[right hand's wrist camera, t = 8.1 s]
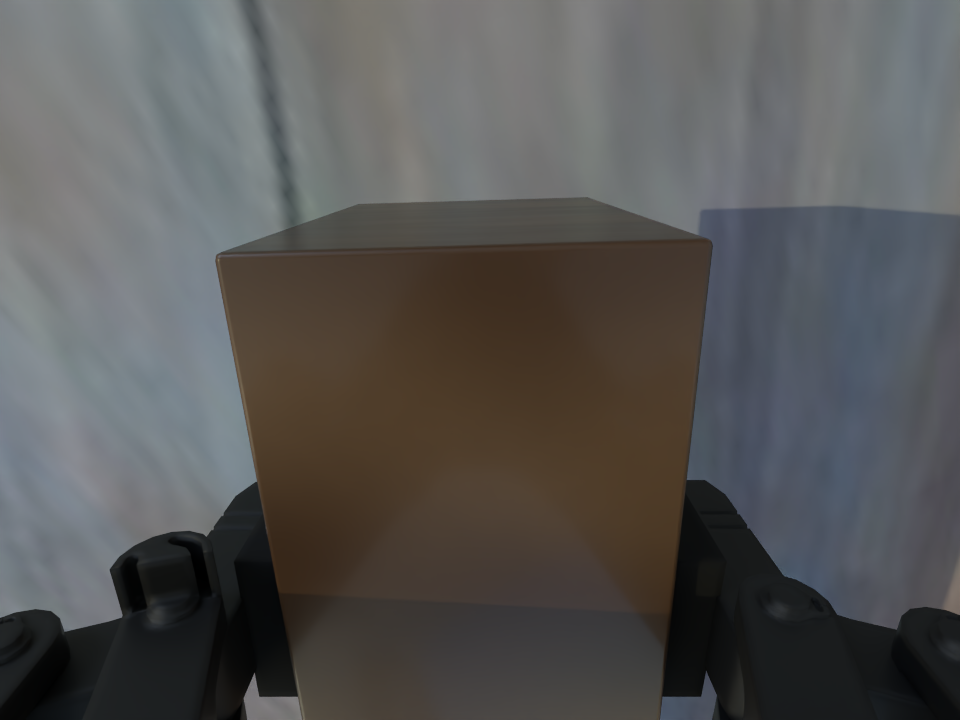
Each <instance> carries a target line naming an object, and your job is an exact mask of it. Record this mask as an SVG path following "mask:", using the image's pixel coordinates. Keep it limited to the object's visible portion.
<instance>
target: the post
mask: <svg viewBox="0 0 960 720" xmlns="http://www.w3.org/2000/svg"><path fill="white" fill-rule="evenodd" d="M712 247H713V245H712V242H711V240H709V239H706V238H704V237H701V236H698V235H695V234H692V233H689V232H686V231H683V230H680V229H678V228H675V227H672V226H669V225H666V224H663V223H660V222H657V221H654V220H651V219H648V218H645V217H643V216H640V215H637V214H634V213H631V212H628V211H625V210H622V209H619V208H616V207H613V206H611V205H608V204H605V203H602V202H599V201H596V200H593V199H590V198H587V197H583V198H549V199H516V200H482V201H448V202H415V203H381V204H358V205H355V206H352V207H349V208H346V209H344V210H341V211H338V212H335V213H332V214H329V215H326V216H324V217H321V218H318V219H315V220H312V221H309V222H306V223H304V224H301V225H298V226H295V227H292V228H289V229H286V230H284V231H281V232H278V233H275V234H272V235H269V236H266V237H264V238H261V239H258V240H255V241H252V242H249V243H246V244H244V245H241V246H238V247H235V248H232V249H229V250H226V251H224V252H221V253H219V254H217V255H216V266H217V271H218V277H219V282H220V287H221V293H222V298H223V303H224V308H225V314H226V319H227V324H228V330H229V335H230V340H231V345H232V351H233V356H234V361H235V367H236V372H237V377H238V382H239V388H240V393H241V398H242V403H243V409H244V414H245V419H246V425H247V430H248V435H249V440H250V446H251V451H252V456H253V462H254V467H255V472H256V477H257V483H258V488H259V493H260V499H261V504H262V509H263V514H264V520H265V525H266V530H267V535H268V541H269V546H270V551H271V557H272V562H273V567H274V572H275V578H276V583H277V588H278V594H279V599H280V604H281V609H282V615H283V620H284V625H285V631H286V636H287V641H288V646H289V652H290V657H291V662H292V667H293V673H294V678H295V683H296V689H297V694H298V699H299V704H300V710H301V715H302V720H660V713H661V704H662V695H663V686H664V678H665V669H666V660H667V651H668V642H669V633H670V624H671V615H672V606H673V597H674V588H675V579H676V570H677V561H678V552H679V543H680V534H681V525H682V516H683V507H684V498H685V489H686V480H687V471H688V462H689V453H690V444H691V435H692V426H693V417H694V408H695V399H696V390H697V381H698V372H699V363H700V354H701V345H702V336H703V327H704V319H705V310H706V301H707V292H708V283H709V274H710V265H711V256H712Z"/></svg>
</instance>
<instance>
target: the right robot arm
mask: <svg viewBox="0 0 960 720" xmlns="http://www.w3.org/2000/svg"><path fill="white" fill-rule="evenodd" d="M110 572H111V576H112V579H113V583H114V586H115V590H116V593H117V597H118V600H119V604H120V607H121V610H122V614H123V616H122V618H119V619H116V620H113V621H109V622H105V623H101V624H97V625H92V626H88V627H84V628H80V629H75V630H71V631H67V632H64V629H63V626H62V624H61V621H60V618H59V617H57V616H56V615H55V614H54V613H53V612H51V611H45V610H37V609H34V610H28V611H22V612H16V613H13V614H10V615H7V616H5V617H2V618H0V720H247V716H246V709H245V704H244V699H243V698H244V696H245V693H246V691H247V689H248V686H249V684H250V682H251V679H252V677H253V675H254V673H255V676H256V681H257V687H258V692H259V697H298V694H297V689H296V683H295V678H294V673H293V667H292V662H291V657H290V652H289V646H288V641H287V636H286V631H285V625H284V620H283V615H282V609H281V604H280V599H279V594H278V588H277V583H276V578H275V572H274V567H273V562H272V557H271V551H270V546H269V541H268V535H267V530H266V525H265V520H264V514H263V509H262V504H261V499H260V493H259V488H258V483H257V482H255V483H254V484H252V485H251V486H249V487H248V488H247V489H245V490H244V491H242V492H241V493H240V494H238V495H237V496H236V497H235V498H234V499H233V501H232V502H231V504H230V505H229V506H228V508H227V509H226V511H225V512H224V516H221V518H220V519H219V520H218V522H217V523H216V525H215V526H214V530H211V532H210V533H209V534H208V536H207V537H206V536H205V535H203V534H200V533H196V532H191V531H181V532H170V533H166V534H163V535H159V536H155V537H152V538H150V539H148V540H146V541H143V542H141V543H139V544H137V545H135V546H133V547H132V548H131V549H129V550H128V551H127V552H125V553H124V554H123V555H121V556H120V557H119V558H118V559H117V561H116V562H115V563H114V565H113V566H112V567H111V569H110ZM706 671H707V673H708V676H709V678H710V680H711V682H712V685H713V687H714V689H715V692H716V694H717V699H716V704H715V709H714V713H713V718H712V720H960V615H958V614H955V613H952V612H949V611H947V610H941V609H935V608H928V607H922V608H915V609H910V610H909V611H907V612H906V613H905V614H904V615H902V617H901V620H900V622H899V625H898V628H897V630H895V629H891V628H886V627H882V626H878V625H874V624H869V623H865V622H861V621H856V620H852V619H849V618H846V617H842V616H839V615H837V614H836V612H835V611H834V609H833V608H832V606H831V604H830V603H829V601H827V600H826V599H825V598H824V597H823V596H821V595H820V594H819V593H818V592H817V591H816V590H814V589H813V588H811V587H809V586H807V585H805V584H803V583H801V582H799V581H797V580H795V579H792V578H788V577H785V576H783V574H782V573H781V572H780V570H779V569H778V567H777V566H776V565H775V563H774V562H773V560H772V559H771V558H770V556H769V555H768V554H767V552H766V551H765V549H764V548H763V547H762V545H761V544H760V542H759V541H758V540H757V538H756V537H755V535H754V534H753V533H752V531H751V530H750V529H748V528H747V524H746V523H745V521H744V520H743V519H742V517H741V516H740V514H737V510H736V509H735V508H734V506H733V505H732V503H731V502H730V501H729V499H728V498H727V496H726V495H725V494H724V493H722V492H721V491H719V490H718V489H717V488H715V487H714V486H712V485H711V484H710V483H708V482H707V481H705V480H686V489H685V498H684V507H683V516H682V525H681V534H680V543H679V552H678V561H677V570H676V579H675V588H674V597H673V606H672V615H671V624H670V633H669V642H668V651H667V660H666V669H665V678H664V686H663V695H662V697H701V694H702V689H703V684H704V679H705V673H706Z"/></svg>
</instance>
